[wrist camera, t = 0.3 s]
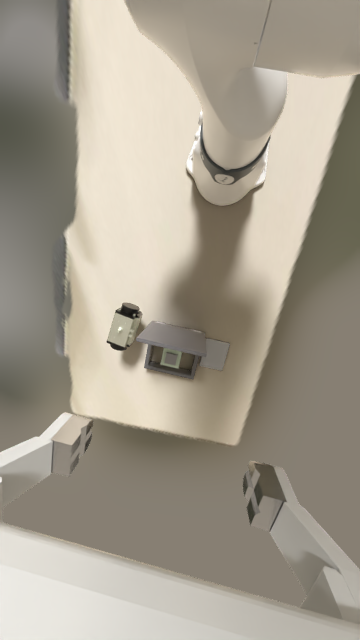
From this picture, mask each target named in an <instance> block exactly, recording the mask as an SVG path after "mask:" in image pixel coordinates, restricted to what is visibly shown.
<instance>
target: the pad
mask: <svg viewBox="0 0 360 640" xmlns="http://www.w3.org/2000/svg"><path fill="white" fill-rule="evenodd" d="M229 346H230V343H227V342H222V341H218V340H213V339H209V338H206V349H207V356H206V357H201V361H200V364H199V366H203V367H207V368H211V369H216V370H220V371H222V370H223V366H224V363H225V359H226V356H227V353H228V349H229Z"/></svg>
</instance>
